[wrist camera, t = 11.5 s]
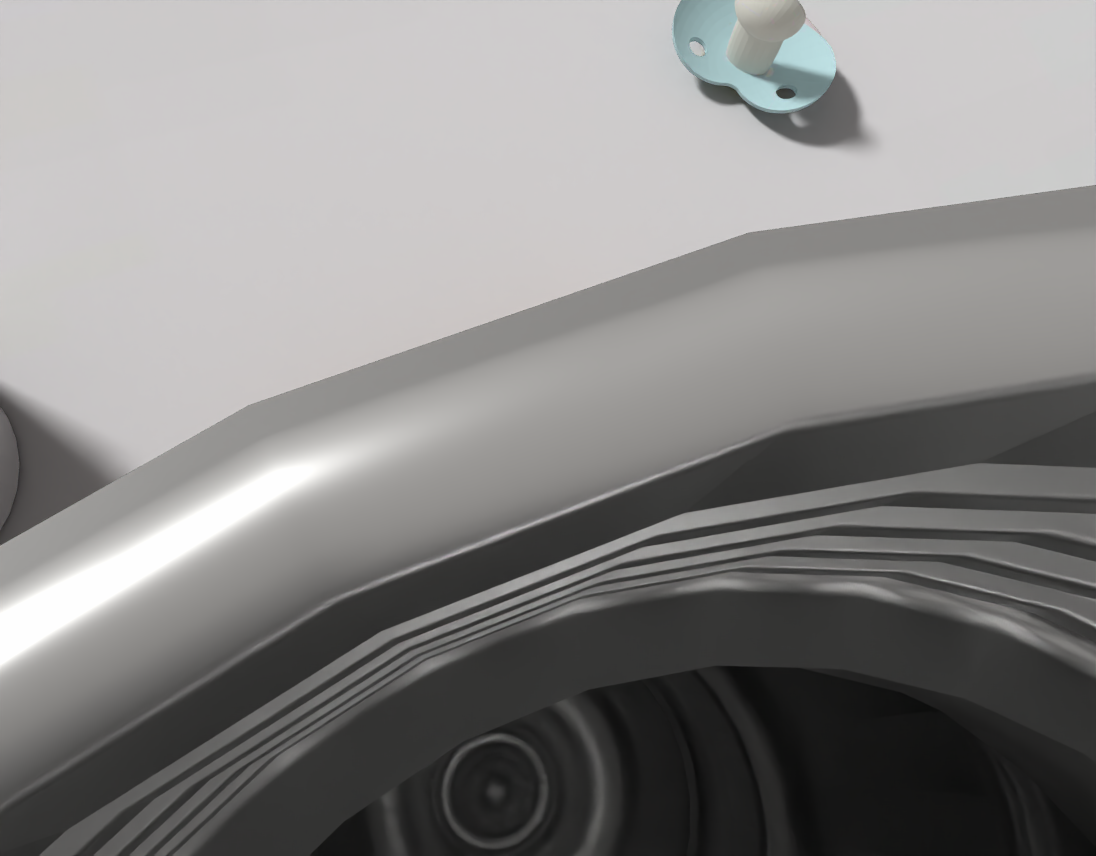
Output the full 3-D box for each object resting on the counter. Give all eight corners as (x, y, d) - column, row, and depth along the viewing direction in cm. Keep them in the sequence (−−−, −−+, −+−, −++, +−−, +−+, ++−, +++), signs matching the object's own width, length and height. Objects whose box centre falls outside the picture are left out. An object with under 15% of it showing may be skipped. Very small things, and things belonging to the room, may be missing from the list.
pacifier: (705, -25, 48) (649, 71, 47) (741, -133, 42) (679, -26, 41) (847, 46, 48) (796, 146, 46) (905, -53, 42) (848, 58, 40)
